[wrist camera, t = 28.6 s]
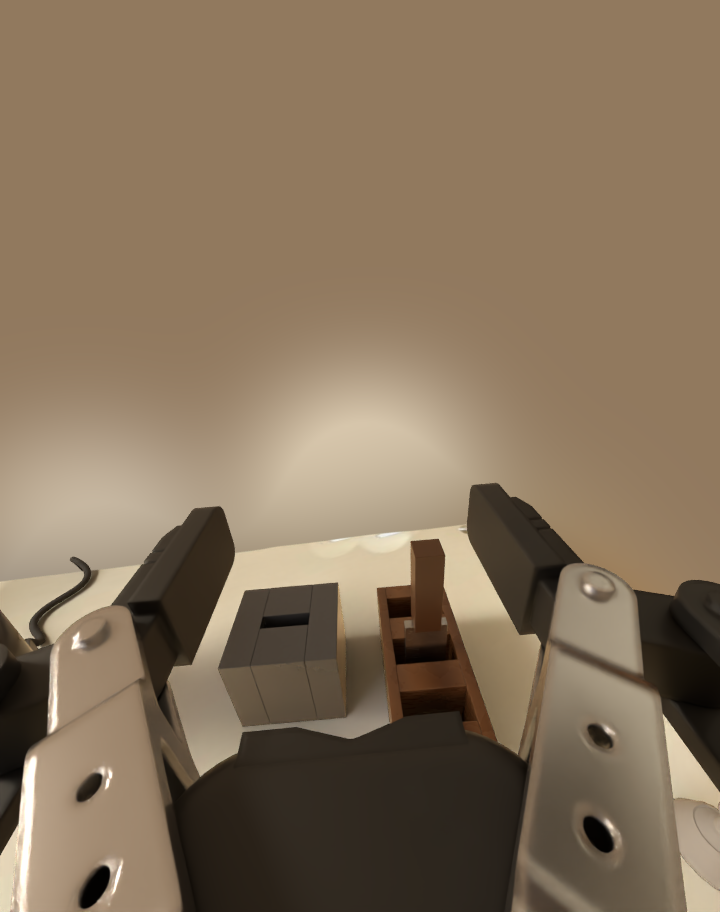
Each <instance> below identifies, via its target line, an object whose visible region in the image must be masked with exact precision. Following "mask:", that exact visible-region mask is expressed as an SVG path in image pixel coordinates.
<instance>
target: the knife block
mask: <svg viewBox="0 0 720 912" xmlns="http://www.w3.org/2000/svg"><path fill="white" fill-rule="evenodd" d="M218 670H219V673H220V675H221V677H222V680H223V682H224V684H225V687H226V689H227V691H228V694H229V696H230V698H231V701H232V703H233V705H234V708H235V710H236V712H237V715H238V717H239V719H240V722H241V724H242V726H254V725H266V724H270V723H271V724H277V723H289V722H300V721H311V720H322V719H333V718H344V717H346V635H345V628H344V621H343V614H342V606H341V599H340V592H339V585H338V583H327V584H315V585H303V586H291V587H280V588H271V589H270V588H269V589H257V590H246V591H245V592H244V595H243V598H242V601H241V604H240V606H239V609H238V612H237V615H236V618H235V621H234V624H233V627H232V630H231V632H230V635H229V638H228V641H227V644H226V647H225V650H224V653H223V656H222V658H221V661H220V664H219V667H218Z"/></svg>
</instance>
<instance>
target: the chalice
mask: <svg viewBox="0 0 720 912" xmlns="http://www.w3.org/2000/svg"><path fill="white" fill-rule="evenodd" d="M673 802H674V810H675V818H676V826H677V834H678V842H679V850H680V853H681V855H682V856H683V858H684V859H685V861H686V862H687V863H688V864H689V865H690V866H691V867H692V868H693V869H694V870H695V872H696V873H697V874H698V875H699V876H700V877H701V878H703V879H704V880H705V881H707V882H708V883H709V884H710V885H712V886H713V887H714V888H715V889H717V890H719V891H720V802H719V804H718V809H719V810H718V809H717V808H715V807H714V806H712V805H710V804H707V803H705V802H703V801H696V800H689V799H682V798H677V799H674V800H673Z"/></svg>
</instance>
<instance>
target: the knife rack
mask: <svg viewBox="0 0 720 912" xmlns="http://www.w3.org/2000/svg"><path fill="white" fill-rule="evenodd" d="M377 597H378V612H379V627H380V638H381V647H382V657H383V666H384V675H385V685H386V694H387V704H388V713H389V722H390V723H392V722H394V721H397V720H399V719H401V718H404V717H406V716H414V715H424V714H435V713H445V712H455V711H459V712H460V715H461V719H462V722H463V726H464V729H465V730H468V731H472V732H475V733H478V734H481V735H484V736H486V737H488V738H490V739H492V740H494V741H496V742H497V739H496V736H495V733H494V730H493V727H492V725H491V722H490V719H489V716H488V713H487V710H486V707H485V704H484V702H483V699H482V696H481V693H480V690H479V687H478V684H477V681H476V679H475V676H474V673H473V670H472V667H471V664H470V661H469V658H468V656H467V653H466V650H465V647H464V644H463V641H462V638H461V635H460V633H459V630H458V627H457V624H456V621H455V618H454V615H453V612H452V609H451V607H450V604H449V601H448V598H447V595H446V592H445V589H444V586H443V604H442V617H446V620H447V623H448V630H447V645H446V660H445V661H435V662H424V663H412V664H405V651H404V621H405V620H412V616H411V585H407V586H395V587H383V588H377Z"/></svg>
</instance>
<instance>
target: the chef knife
mask: <svg viewBox="0 0 720 912" xmlns="http://www.w3.org/2000/svg"><path fill="white" fill-rule="evenodd" d="M444 567H445V554H444V551H443V549H442V546H441V544H440V541H439V539H431V540H419V541H411V616H412V620H405V621H404V651H405V664H412V663H424V662H435V661H445V660H446V645H447V630H448V623H447V620H446V617H442V604H443V586H444Z"/></svg>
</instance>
